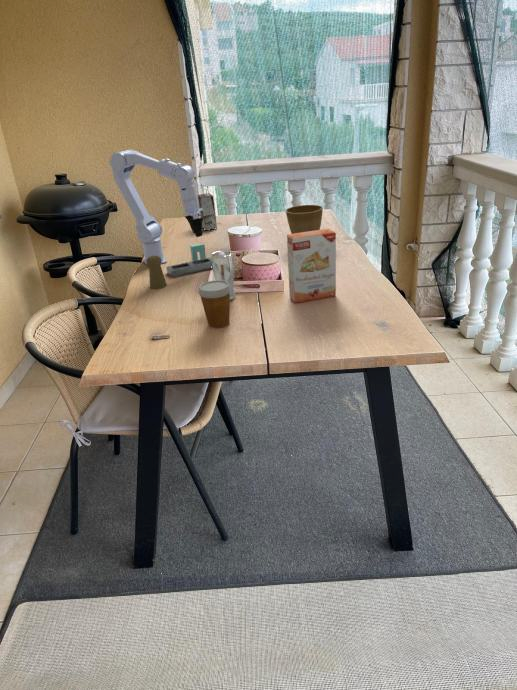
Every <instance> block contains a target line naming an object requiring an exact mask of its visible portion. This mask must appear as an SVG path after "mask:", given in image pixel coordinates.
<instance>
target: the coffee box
mask: <svg viewBox="0 0 517 690" xmlns="http://www.w3.org/2000/svg"><path fill="white" fill-rule="evenodd" d="M197 199H198V204H199V209H201V208H202V209H203V211H201V212H200V213H199V216H200V217H203V221H202V227H203V228H204V229H205V230H208V231H210V230H209V229H214V230H216V229H215V228H217V229H218V224H217V217H216V208H215V207H216V206H215V199H214V195H213V194H211V193H210V192H208V193H202V194H197ZM200 217H199V218H200ZM203 228H202V229H203ZM204 229H203V230H204ZM205 230H204V231H205Z"/></svg>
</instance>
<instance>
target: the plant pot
mask: <svg viewBox="0 0 517 690" xmlns="http://www.w3.org/2000/svg"><path fill="white" fill-rule="evenodd" d="M323 210H324V209H323V206H322V205H319V204H302V205H301V204H300V205H295V206H291V207H289V208H286V209H285V215H286V218H287V224H288V227H289V231H290V234H294V233H301V232H308V231H315V230H321V226H322V219H323V212H324V211H323Z"/></svg>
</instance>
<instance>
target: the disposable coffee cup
mask: <svg viewBox="0 0 517 690" xmlns="http://www.w3.org/2000/svg"><path fill="white" fill-rule="evenodd" d="M230 291H231V287H230V285H229V283H228V282H226V281H222V280H215V279H214V280H210V281H209V280H208V281H206V282H203V283H201V284H200V285H199V287H198V290H197V293H198V295H199V296H200V300H201V302H202V306H203V310H204V313H205V318H206V320H207V324H208V325H207V326H209V327H210V328H215V329H219V328H225V327H227V326H228V325H230V313H231V312H230V311H231V310H230V309H231V308H230V303H231V300H230Z"/></svg>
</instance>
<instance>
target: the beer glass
mask: <svg viewBox="0 0 517 690" xmlns="http://www.w3.org/2000/svg"><path fill="white" fill-rule="evenodd" d="M211 258H212V268H211V269H212V274H213V277H214V281H215V280H222V281H226V282H228V283H229V285H230V287H231V291H230V301H232V300H234V299H235V298H236V296H237V295H236V292H235V289H234V287H235V286H234V280H235V277H234V276H235V264H234V258H233V253H232V251H230V250H219V251H218V250H217V251H215V252H213V253H211Z"/></svg>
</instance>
